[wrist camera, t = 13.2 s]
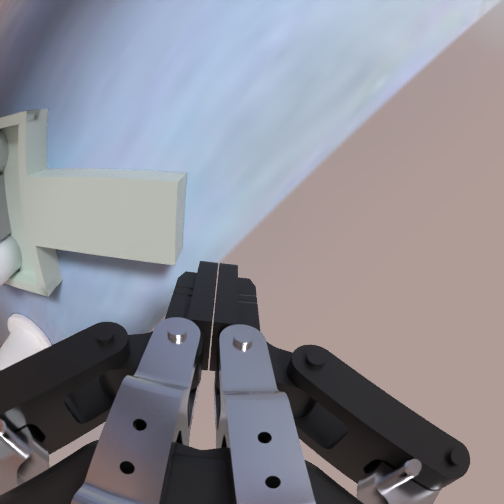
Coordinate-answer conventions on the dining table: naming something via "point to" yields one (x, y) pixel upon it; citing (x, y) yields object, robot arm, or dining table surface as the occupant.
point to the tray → (78, 209)
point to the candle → (21, 341)
